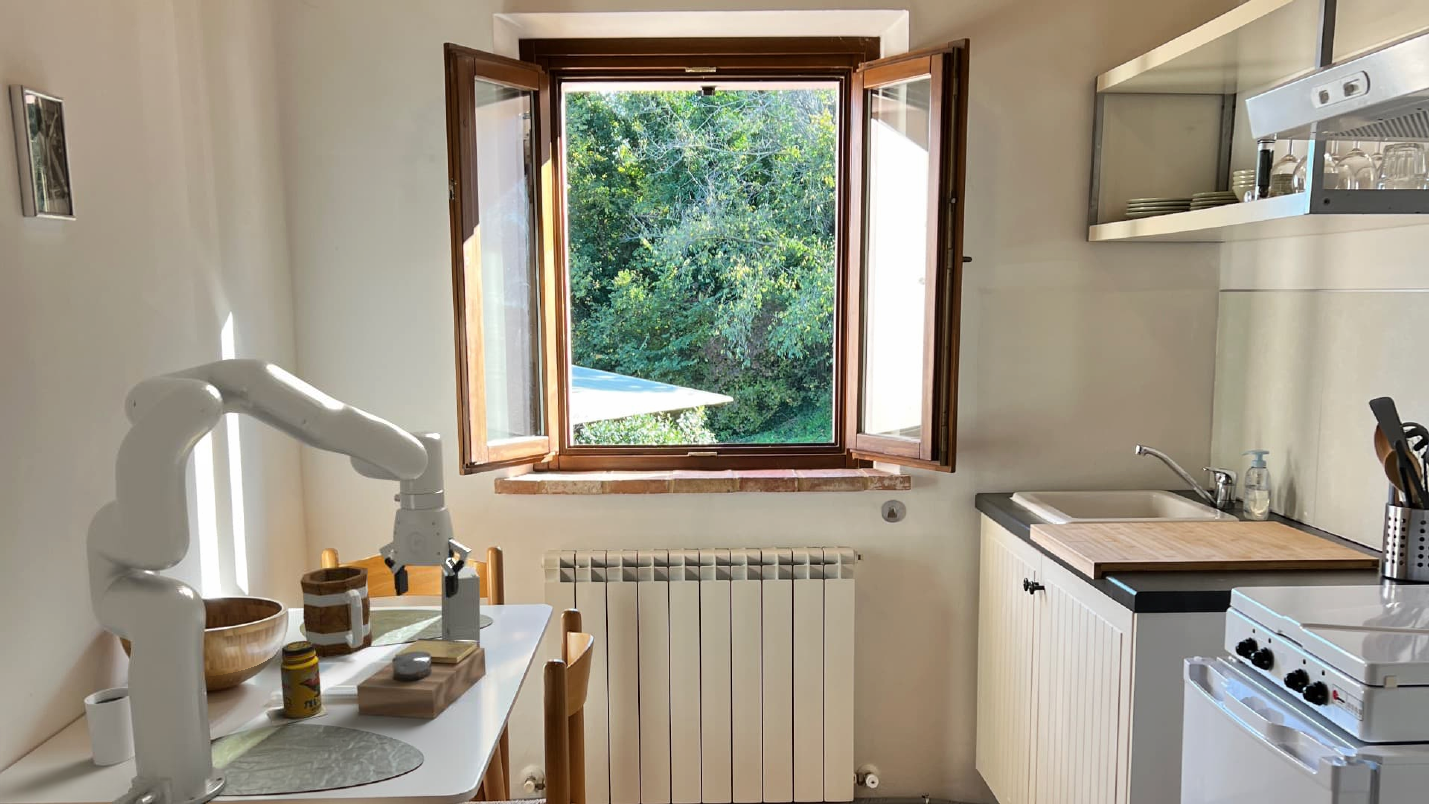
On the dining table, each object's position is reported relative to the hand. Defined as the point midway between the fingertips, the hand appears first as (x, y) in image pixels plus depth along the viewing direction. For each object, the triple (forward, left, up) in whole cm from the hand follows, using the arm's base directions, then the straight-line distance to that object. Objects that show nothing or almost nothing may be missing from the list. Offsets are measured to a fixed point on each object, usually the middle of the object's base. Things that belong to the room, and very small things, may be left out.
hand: (426, 594), depth 176 cm
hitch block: (-3, 0, -17) cm, 17 cm away
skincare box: (+20, +4, -17) cm, 27 cm away
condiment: (-14, +18, -17) cm, 29 cm away
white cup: (-33, +37, -17) cm, 52 cm away
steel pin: (-7, 0, -17) cm, 19 cm away
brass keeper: (+2, 0, -12) cm, 12 cm away
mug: (+16, +28, -17) cm, 37 cm away
